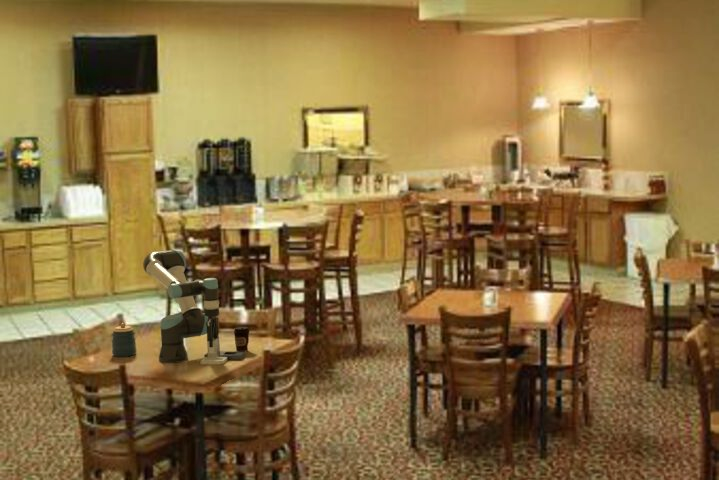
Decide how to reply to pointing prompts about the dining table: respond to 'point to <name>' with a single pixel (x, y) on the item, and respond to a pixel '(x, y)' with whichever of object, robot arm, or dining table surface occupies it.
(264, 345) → the dining table surface
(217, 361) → the parts tray
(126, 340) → the canister
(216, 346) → the nut block
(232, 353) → the grey flat slab
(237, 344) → the coffee cup
